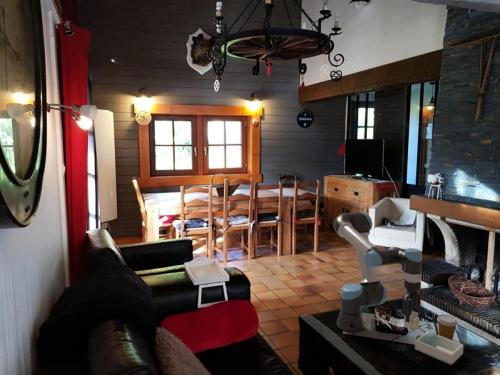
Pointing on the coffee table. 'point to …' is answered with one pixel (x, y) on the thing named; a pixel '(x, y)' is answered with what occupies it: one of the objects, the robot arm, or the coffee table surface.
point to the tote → (440, 349)
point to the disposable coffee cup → (446, 326)
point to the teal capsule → (431, 339)
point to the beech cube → (413, 322)
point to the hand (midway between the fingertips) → (411, 325)
